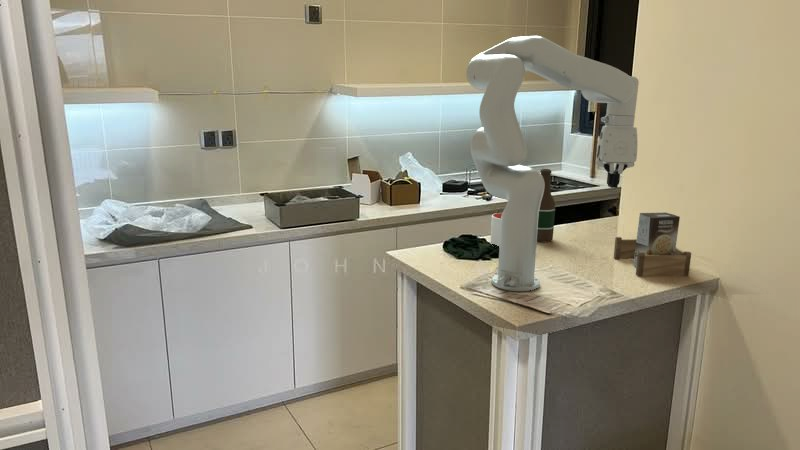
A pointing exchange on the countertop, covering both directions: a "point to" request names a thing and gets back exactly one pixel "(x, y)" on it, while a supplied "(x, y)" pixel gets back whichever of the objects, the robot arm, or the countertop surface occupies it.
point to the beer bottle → (546, 210)
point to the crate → (653, 260)
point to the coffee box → (656, 234)
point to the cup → (496, 228)
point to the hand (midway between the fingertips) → (612, 187)
